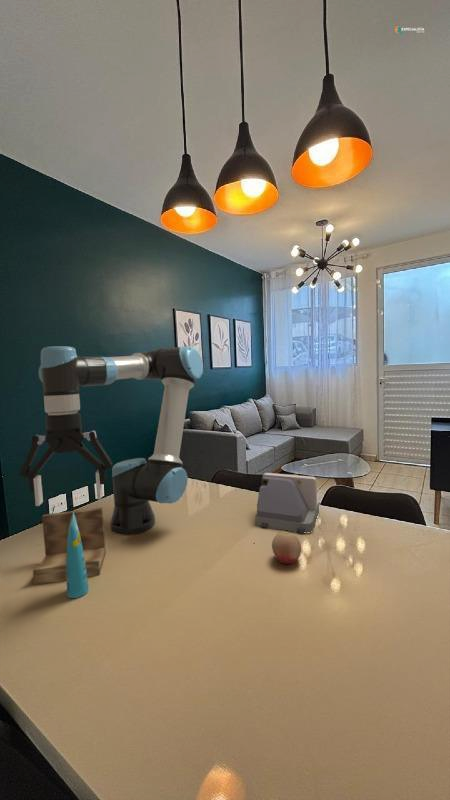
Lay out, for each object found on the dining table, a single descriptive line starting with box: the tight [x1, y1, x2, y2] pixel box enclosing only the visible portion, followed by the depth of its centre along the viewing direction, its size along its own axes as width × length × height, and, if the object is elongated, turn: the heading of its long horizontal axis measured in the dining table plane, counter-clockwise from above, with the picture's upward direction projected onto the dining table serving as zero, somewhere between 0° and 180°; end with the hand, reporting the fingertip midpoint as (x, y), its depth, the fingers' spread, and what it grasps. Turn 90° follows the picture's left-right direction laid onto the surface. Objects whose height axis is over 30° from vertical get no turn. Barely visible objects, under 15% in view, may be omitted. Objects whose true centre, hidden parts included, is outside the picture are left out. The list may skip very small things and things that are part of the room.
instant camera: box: [255, 472, 320, 534], centre depth 119 cm, size 21×21×15 cm
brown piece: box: [32, 507, 107, 586], centre depth 94 cm, size 16×12×14 cm
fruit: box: [271, 530, 302, 565], centre depth 93 cm, size 8×8×8 cm
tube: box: [66, 510, 89, 599], centre depth 83 cm, size 7×5×19 cm, turn 26°
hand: (70, 500), depth 82 cm, fingers open, 13 cm apart
